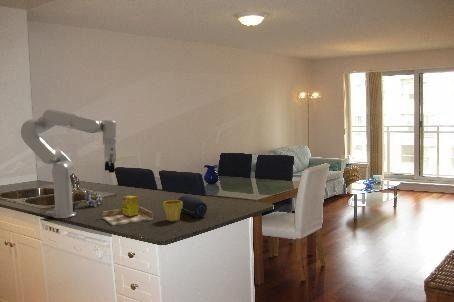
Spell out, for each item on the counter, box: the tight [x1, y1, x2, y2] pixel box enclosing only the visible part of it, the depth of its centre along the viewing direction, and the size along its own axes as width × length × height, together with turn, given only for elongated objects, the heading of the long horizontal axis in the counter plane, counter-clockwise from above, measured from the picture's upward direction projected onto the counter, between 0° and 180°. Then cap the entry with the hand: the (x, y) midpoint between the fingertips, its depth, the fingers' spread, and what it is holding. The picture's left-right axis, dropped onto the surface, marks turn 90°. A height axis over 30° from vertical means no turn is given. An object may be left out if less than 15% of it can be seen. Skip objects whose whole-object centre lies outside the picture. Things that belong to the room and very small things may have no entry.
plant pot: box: [162, 199, 183, 222], centre depth 241 cm, size 10×10×10 cm
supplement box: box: [122, 195, 139, 218], centre depth 248 cm, size 6×6×11 cm
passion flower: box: [83, 190, 103, 208], centre depth 286 cm, size 11×11×12 cm
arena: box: [102, 205, 154, 226], centre depth 246 cm, size 22×20×4 cm
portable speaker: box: [177, 194, 208, 219], centre depth 253 cm, size 25×10×10 cm, turn 30°
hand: (109, 171), depth 258 cm, fingers open, 9 cm apart
